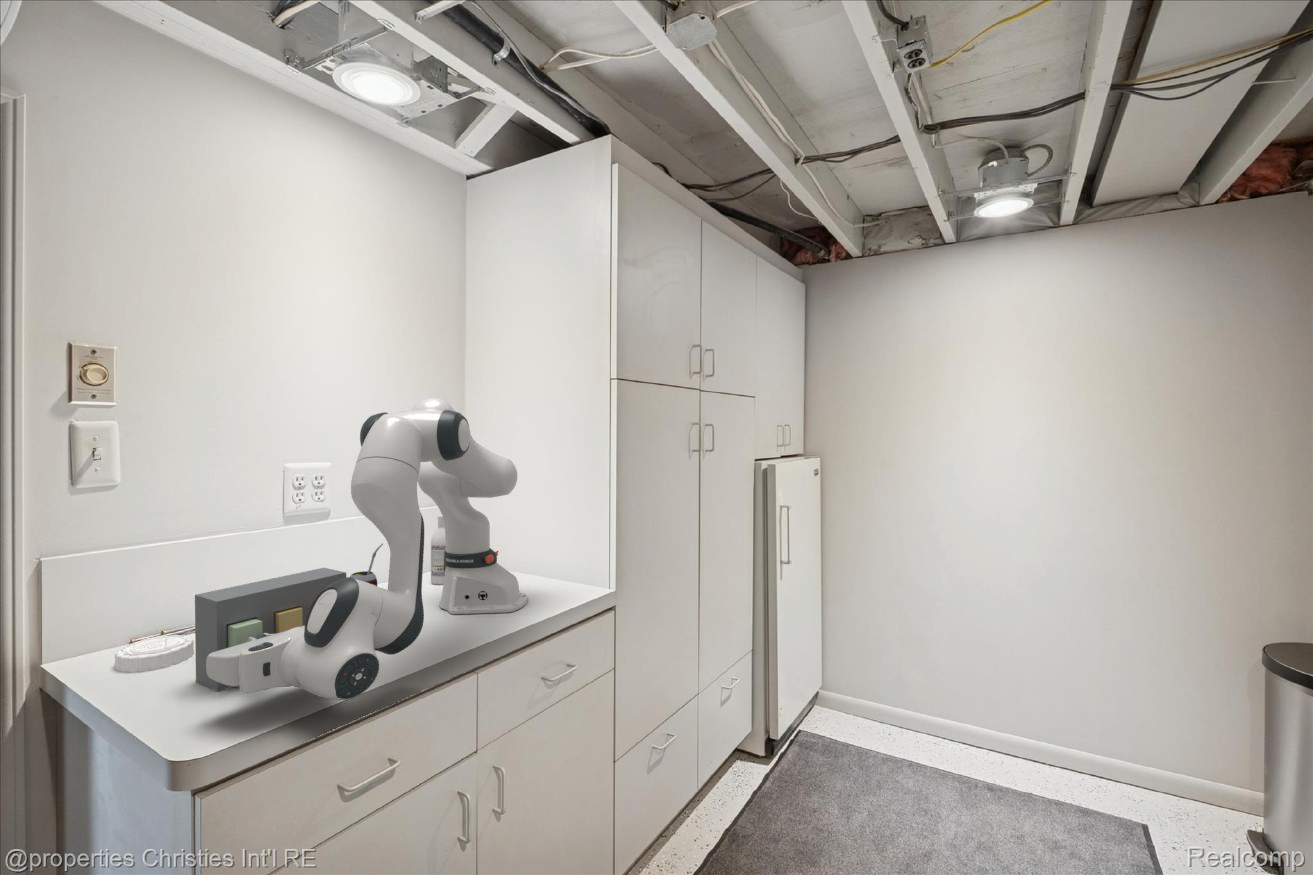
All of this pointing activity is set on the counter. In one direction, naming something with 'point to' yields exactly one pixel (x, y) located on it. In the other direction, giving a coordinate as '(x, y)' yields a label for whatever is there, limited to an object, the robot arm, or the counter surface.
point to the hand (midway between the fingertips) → (255, 639)
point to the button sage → (243, 631)
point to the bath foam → (438, 553)
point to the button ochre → (287, 619)
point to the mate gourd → (367, 572)
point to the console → (252, 610)
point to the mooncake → (154, 653)
